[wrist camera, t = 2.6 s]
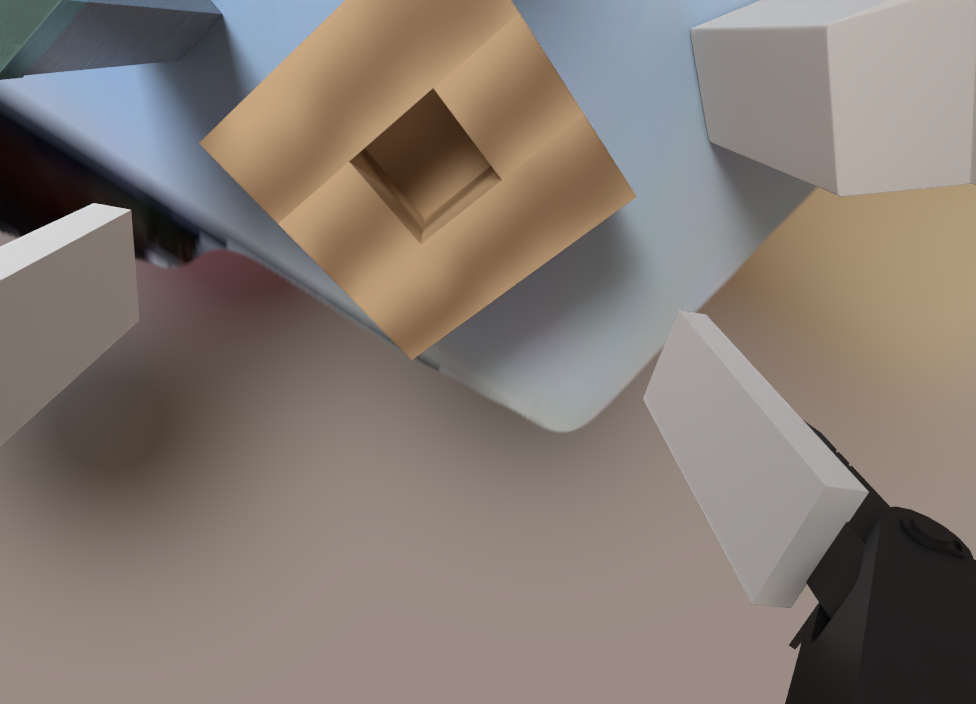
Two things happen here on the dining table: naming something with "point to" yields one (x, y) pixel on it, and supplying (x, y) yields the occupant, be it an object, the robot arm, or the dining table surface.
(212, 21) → the square bit
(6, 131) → the dining table surface
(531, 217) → the socket block
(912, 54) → the milk carton
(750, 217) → the dining table surface
